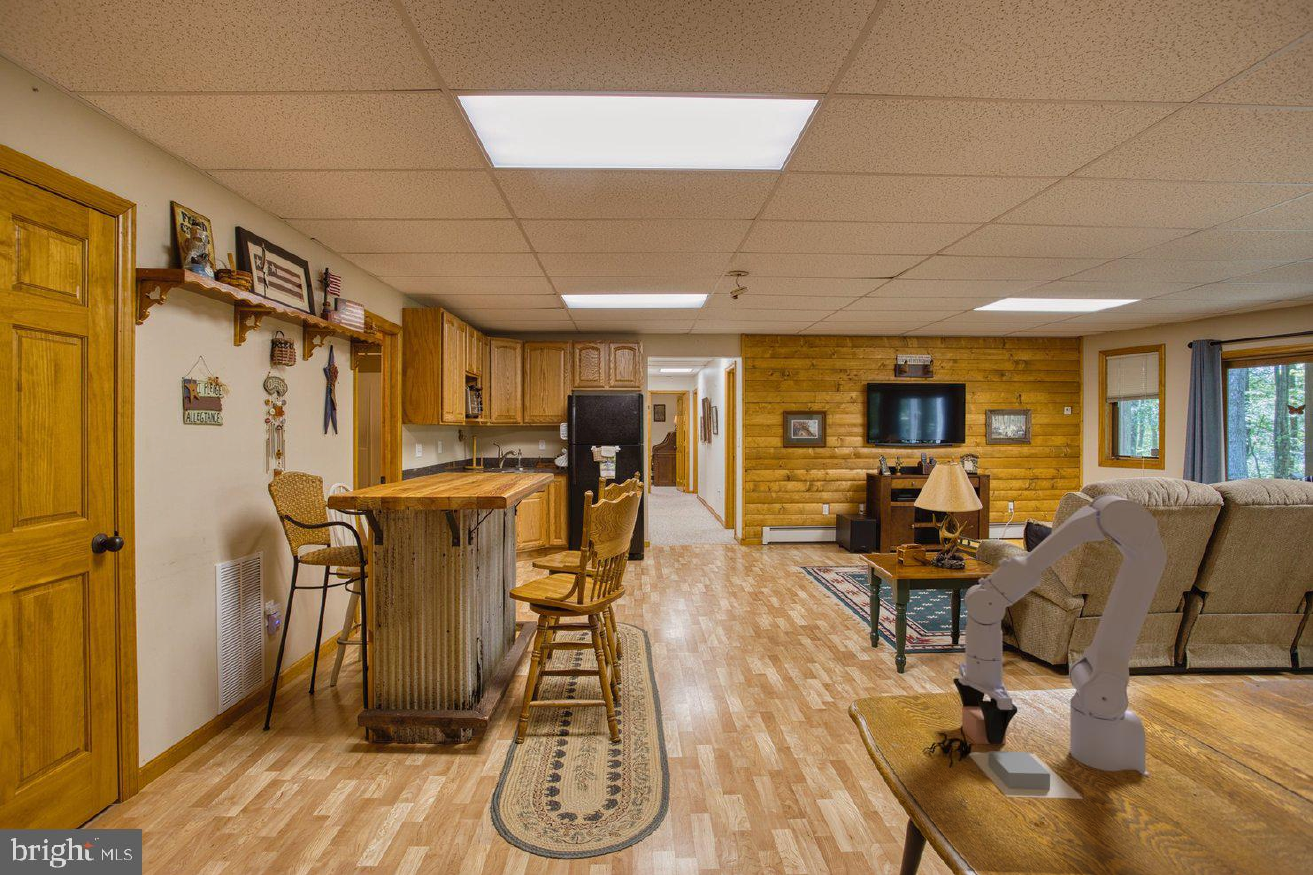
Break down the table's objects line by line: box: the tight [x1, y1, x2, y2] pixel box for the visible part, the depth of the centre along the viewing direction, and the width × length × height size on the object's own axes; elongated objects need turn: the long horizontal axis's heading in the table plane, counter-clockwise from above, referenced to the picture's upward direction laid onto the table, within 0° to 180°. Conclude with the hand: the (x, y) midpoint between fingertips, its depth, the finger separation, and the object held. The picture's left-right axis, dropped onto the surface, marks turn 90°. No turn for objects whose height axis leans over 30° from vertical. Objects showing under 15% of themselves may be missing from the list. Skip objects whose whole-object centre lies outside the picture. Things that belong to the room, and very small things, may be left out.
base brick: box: [987, 750, 1050, 790], centre depth 91 cm, size 6×6×2 cm
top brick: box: [961, 705, 1007, 745], centre depth 104 cm, size 5×5×5 cm
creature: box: [922, 725, 976, 768], centre depth 98 cm, size 8×5×8 cm
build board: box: [968, 751, 1084, 800], centre depth 92 cm, size 11×12×1 cm
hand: (983, 731), depth 104 cm, fingers open, 7 cm apart
